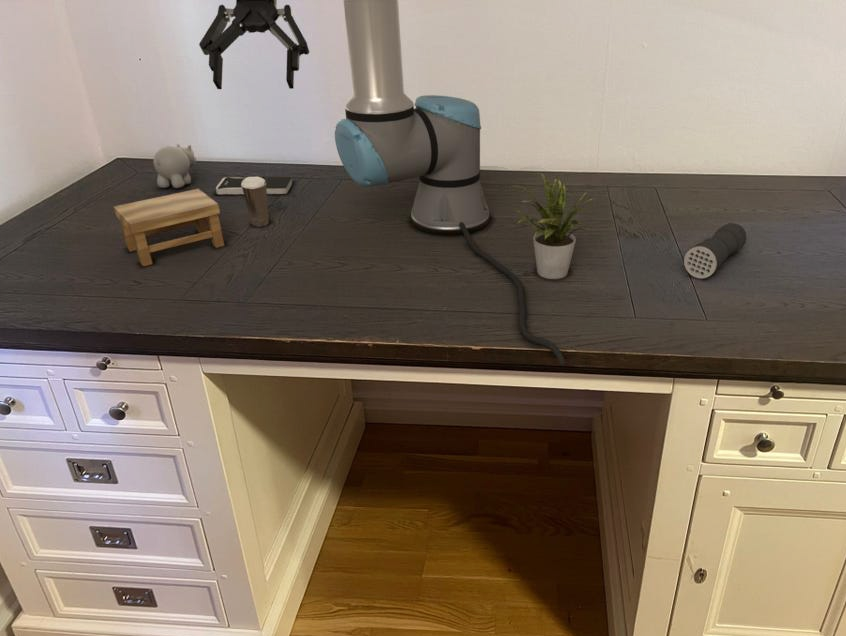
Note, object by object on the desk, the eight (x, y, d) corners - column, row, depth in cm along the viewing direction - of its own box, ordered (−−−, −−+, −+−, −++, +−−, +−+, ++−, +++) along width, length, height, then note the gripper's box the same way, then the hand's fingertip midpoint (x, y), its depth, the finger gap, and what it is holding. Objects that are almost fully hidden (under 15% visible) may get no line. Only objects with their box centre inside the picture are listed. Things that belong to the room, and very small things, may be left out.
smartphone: (286, 188, 153) (214, 188, 152) (286, 194, 153) (215, 195, 153) (292, 176, 159) (223, 177, 158) (292, 182, 160) (224, 183, 159)
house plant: (493, 259, 126) (494, 167, 117) (564, 247, 130) (570, 158, 121) (526, 294, 115) (529, 196, 106) (602, 280, 119) (612, 185, 110)
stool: (226, 245, 131) (218, 204, 126) (142, 267, 123) (129, 223, 118) (207, 229, 137) (198, 188, 133) (125, 248, 129) (113, 206, 125)
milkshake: (270, 229, 137) (261, 178, 132) (244, 227, 138) (234, 176, 133) (280, 220, 141) (272, 170, 135) (255, 218, 142) (246, 168, 136)
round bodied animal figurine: (212, 174, 164) (204, 137, 159) (181, 192, 154) (172, 152, 150) (184, 172, 166) (176, 134, 161) (152, 189, 156) (142, 150, 151)
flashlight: (717, 244, 131) (722, 216, 129) (745, 252, 129) (752, 223, 126) (681, 273, 121) (686, 243, 118) (712, 282, 118) (718, 252, 116)
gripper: (324, 0, 144) (323, 95, 140) (198, 1, 143) (193, 96, 139) (317, -27, 137) (316, 72, 132) (185, -27, 136) (179, 73, 131)
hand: (253, 85), depth 135 cm, fingers open, 13 cm apart
